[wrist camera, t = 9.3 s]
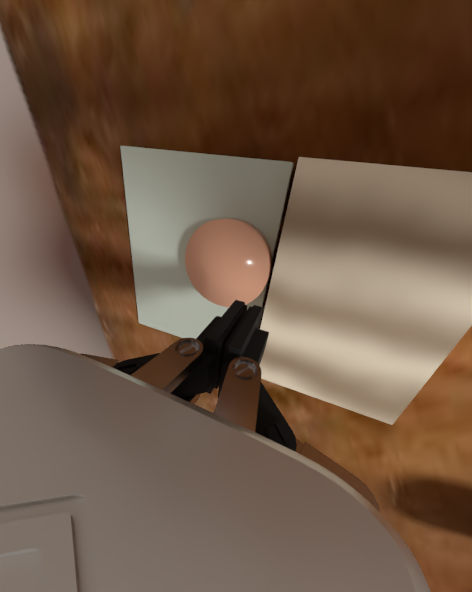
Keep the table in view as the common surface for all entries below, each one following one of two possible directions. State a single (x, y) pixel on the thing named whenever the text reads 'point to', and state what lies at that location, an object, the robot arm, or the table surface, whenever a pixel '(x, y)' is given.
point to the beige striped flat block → (369, 283)
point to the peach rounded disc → (228, 261)
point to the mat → (191, 224)
